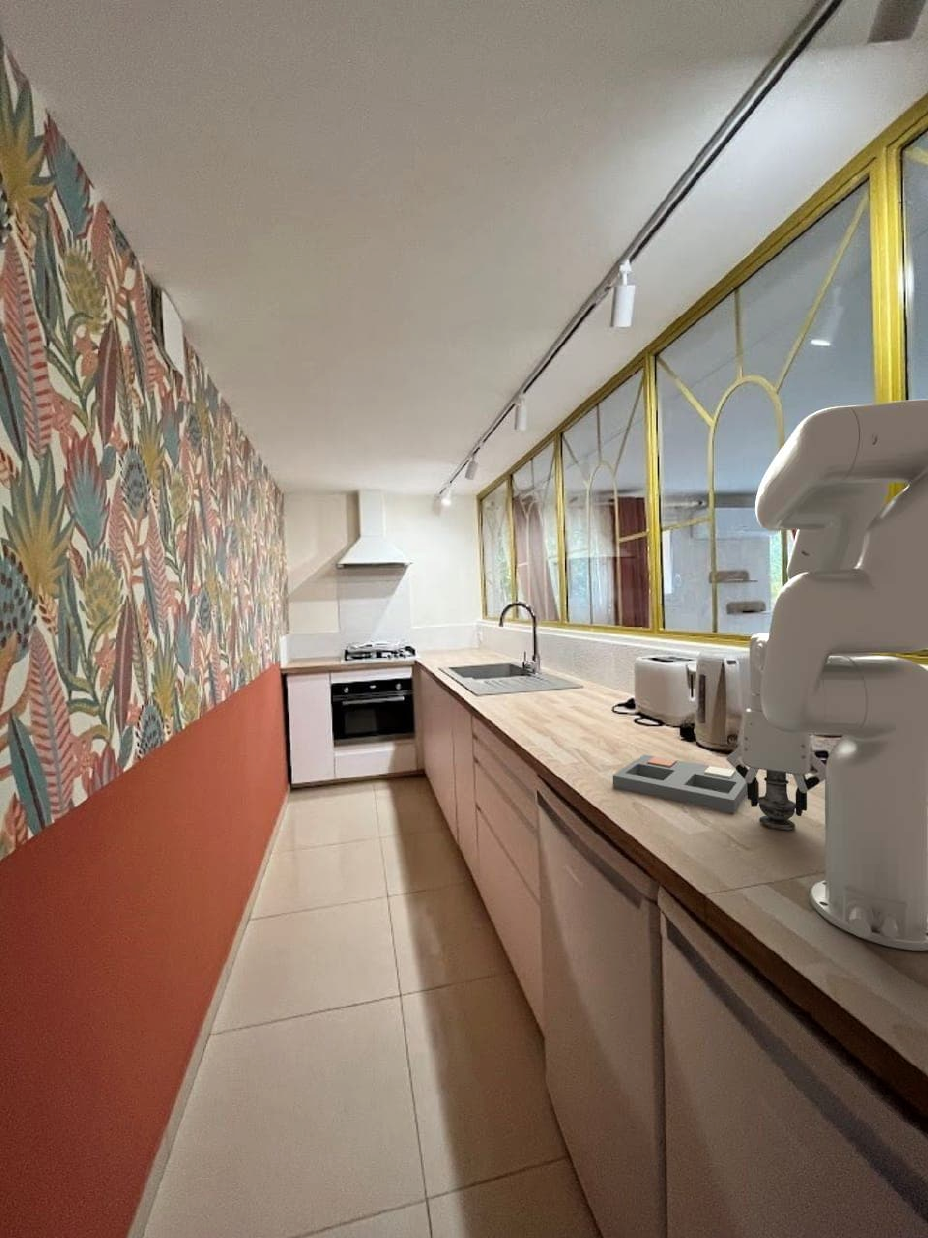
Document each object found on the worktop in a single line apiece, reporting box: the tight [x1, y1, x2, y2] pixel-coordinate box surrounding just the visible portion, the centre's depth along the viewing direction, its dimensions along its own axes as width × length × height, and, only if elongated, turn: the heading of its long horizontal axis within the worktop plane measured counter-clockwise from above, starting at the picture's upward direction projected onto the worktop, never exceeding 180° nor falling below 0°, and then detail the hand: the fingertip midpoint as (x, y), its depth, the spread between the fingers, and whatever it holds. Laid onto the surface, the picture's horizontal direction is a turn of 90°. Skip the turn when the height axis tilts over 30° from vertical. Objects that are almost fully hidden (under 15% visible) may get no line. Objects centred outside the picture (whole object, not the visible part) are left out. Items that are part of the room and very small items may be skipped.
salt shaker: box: [757, 770, 796, 831], centre depth 85 cm, size 6×6×12 cm
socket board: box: [612, 754, 747, 815], centre depth 105 cm, size 19×23×3 cm
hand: (776, 807), depth 85 cm, fingers closed on salt shaker, 5 cm apart
